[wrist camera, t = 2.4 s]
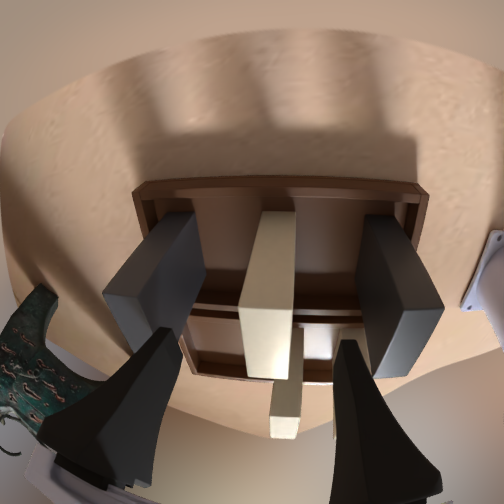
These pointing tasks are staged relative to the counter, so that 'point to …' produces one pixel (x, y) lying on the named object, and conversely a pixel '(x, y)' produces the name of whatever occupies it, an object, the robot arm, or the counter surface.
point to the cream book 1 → (269, 297)
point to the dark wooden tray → (307, 229)
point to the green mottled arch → (35, 367)
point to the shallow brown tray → (232, 352)
